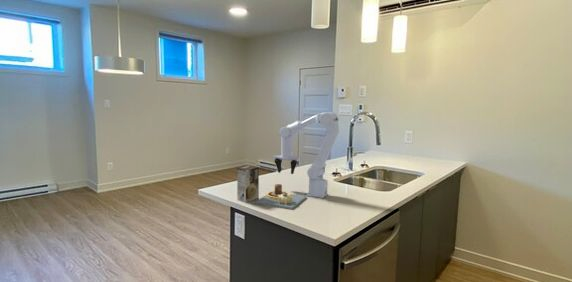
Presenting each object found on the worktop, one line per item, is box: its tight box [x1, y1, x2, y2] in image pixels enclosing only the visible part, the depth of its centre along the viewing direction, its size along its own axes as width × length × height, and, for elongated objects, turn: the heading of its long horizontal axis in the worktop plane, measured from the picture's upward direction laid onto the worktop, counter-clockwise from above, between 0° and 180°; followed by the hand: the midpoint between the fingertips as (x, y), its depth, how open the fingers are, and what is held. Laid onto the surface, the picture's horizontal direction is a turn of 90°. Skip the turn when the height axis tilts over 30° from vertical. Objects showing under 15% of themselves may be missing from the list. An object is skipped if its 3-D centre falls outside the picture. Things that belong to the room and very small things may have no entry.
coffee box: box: [236, 164, 260, 203], centre depth 154 cm, size 9×6×16 cm
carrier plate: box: [254, 190, 307, 210], centre depth 153 cm, size 19×19×5 cm
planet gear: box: [270, 183, 287, 197], centre depth 158 cm, size 9×9×6 cm
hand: (285, 173), depth 172 cm, fingers open, 7 cm apart
